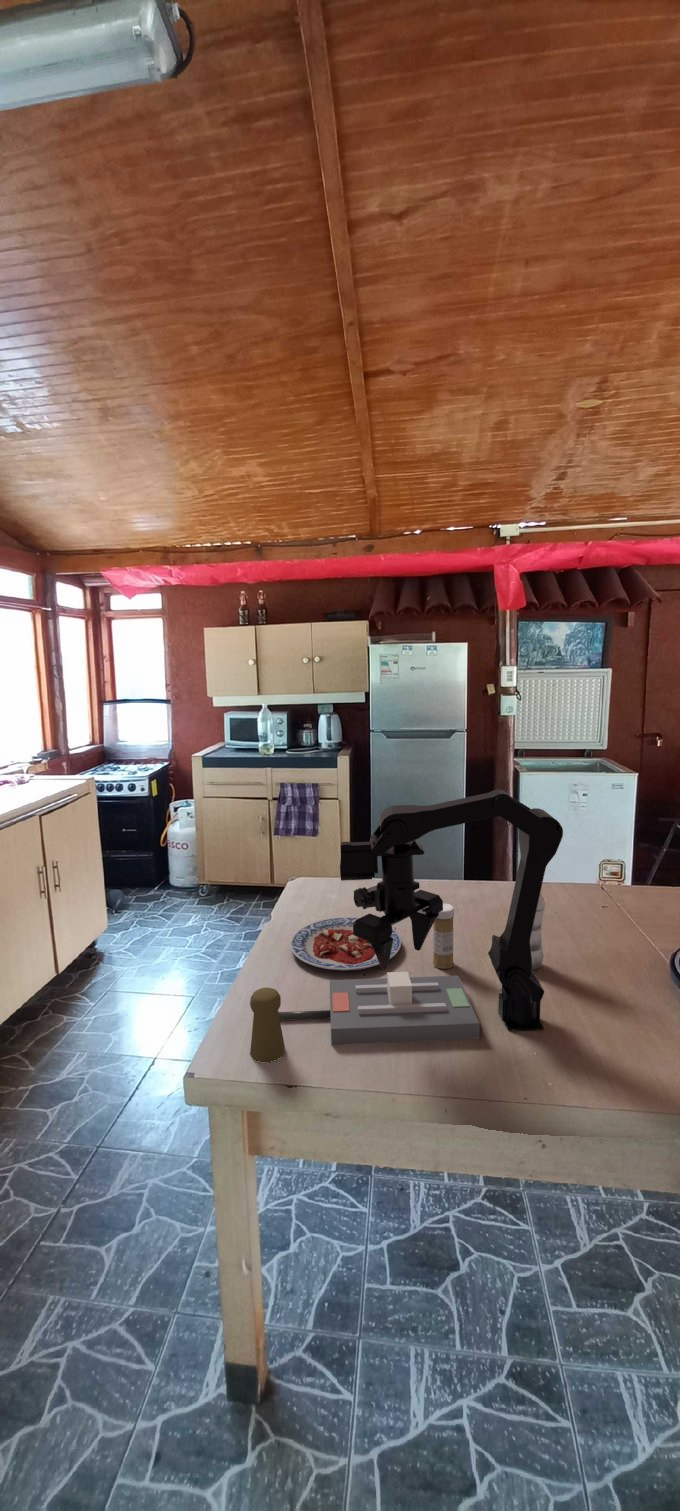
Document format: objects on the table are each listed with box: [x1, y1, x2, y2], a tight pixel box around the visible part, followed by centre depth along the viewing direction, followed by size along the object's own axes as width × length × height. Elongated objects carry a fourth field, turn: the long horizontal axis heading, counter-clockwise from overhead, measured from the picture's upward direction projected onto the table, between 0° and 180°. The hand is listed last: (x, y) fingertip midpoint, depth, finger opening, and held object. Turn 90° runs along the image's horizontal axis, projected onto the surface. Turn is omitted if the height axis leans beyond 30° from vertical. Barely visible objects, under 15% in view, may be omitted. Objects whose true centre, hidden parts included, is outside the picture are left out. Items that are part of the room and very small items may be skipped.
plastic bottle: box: [530, 892, 546, 971], centre depth 126 cm, size 6×7×20 cm
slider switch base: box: [278, 975, 480, 1046], centre depth 110 cm, size 36×16×4 cm, turn 92°
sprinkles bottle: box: [432, 902, 455, 970], centre depth 128 cm, size 5×5×14 cm
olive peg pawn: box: [249, 987, 286, 1063], centre depth 100 cm, size 6×6×11 cm
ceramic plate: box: [289, 917, 402, 971], centre depth 137 cm, size 26×26×3 cm
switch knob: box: [386, 971, 412, 1005], centre depth 110 cm, size 4×5×4 cm
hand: (401, 959), depth 107 cm, fingers open, 9 cm apart
